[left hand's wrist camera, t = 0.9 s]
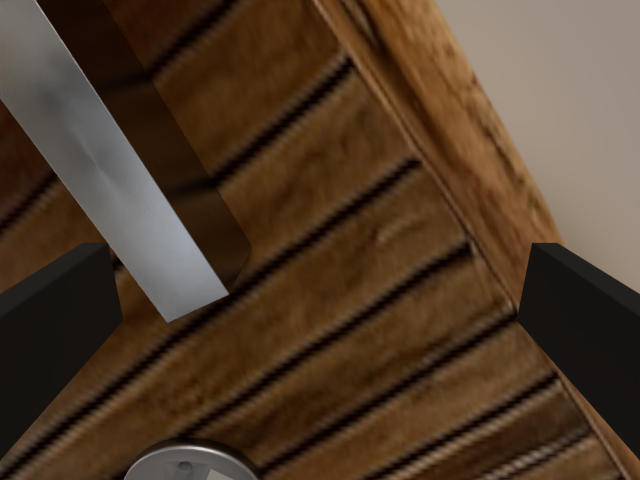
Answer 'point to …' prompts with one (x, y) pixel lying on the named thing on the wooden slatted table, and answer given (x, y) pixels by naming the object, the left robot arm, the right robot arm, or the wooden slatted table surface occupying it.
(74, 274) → the left robot arm
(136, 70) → the bar
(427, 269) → the wooden slatted table surface
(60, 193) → the wooden slatted table surface
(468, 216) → the wooden slatted table surface
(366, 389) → the wooden slatted table surface
